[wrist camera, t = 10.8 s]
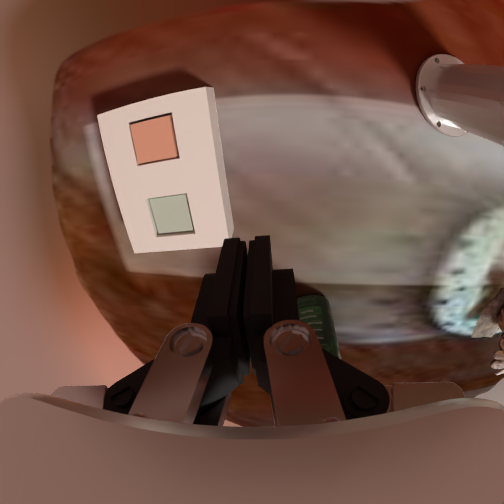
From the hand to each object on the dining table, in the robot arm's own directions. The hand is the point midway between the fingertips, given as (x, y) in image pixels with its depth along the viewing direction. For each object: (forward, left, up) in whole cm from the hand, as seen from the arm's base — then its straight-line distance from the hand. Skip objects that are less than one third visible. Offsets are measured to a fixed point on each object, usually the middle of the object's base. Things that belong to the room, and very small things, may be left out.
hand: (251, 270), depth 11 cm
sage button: (+12, +7, -26) cm, 29 cm away
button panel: (+12, +2, -27) cm, 30 cm away
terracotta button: (+12, -3, -25) cm, 28 cm away
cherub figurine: (-61, +41, -27) cm, 78 cm away
